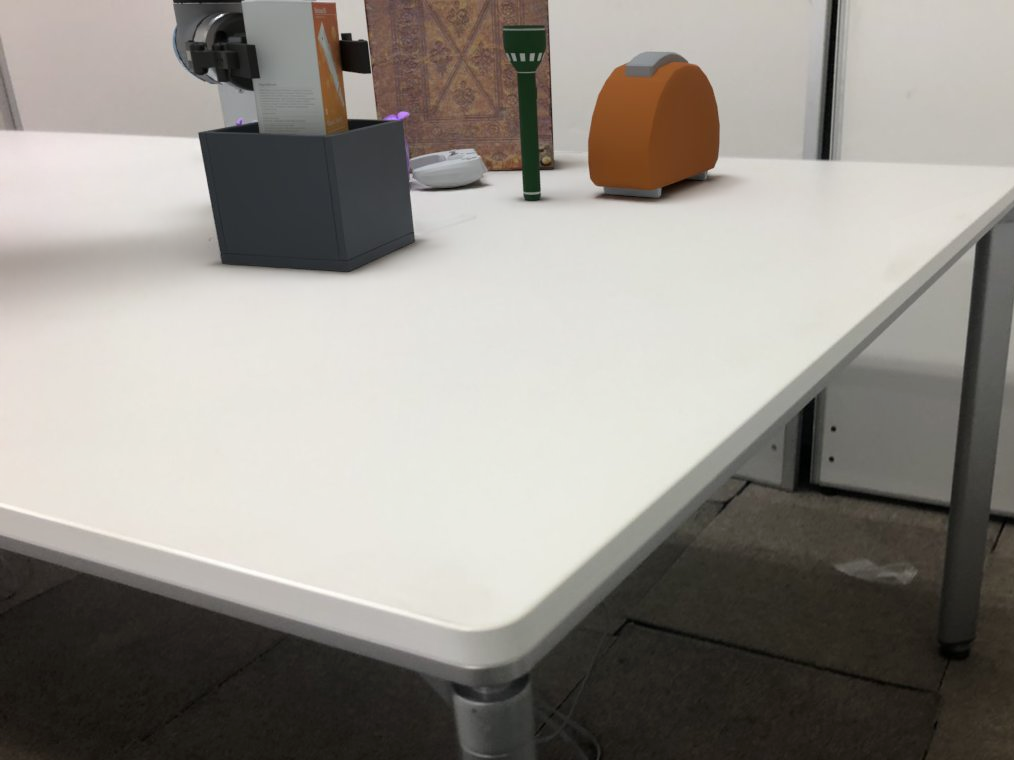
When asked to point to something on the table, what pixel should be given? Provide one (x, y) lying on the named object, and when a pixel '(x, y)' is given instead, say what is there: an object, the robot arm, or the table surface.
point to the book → (457, 76)
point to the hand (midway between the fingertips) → (311, 59)
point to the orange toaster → (653, 126)
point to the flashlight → (527, 96)
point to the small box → (297, 66)
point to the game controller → (448, 168)
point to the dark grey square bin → (309, 195)
